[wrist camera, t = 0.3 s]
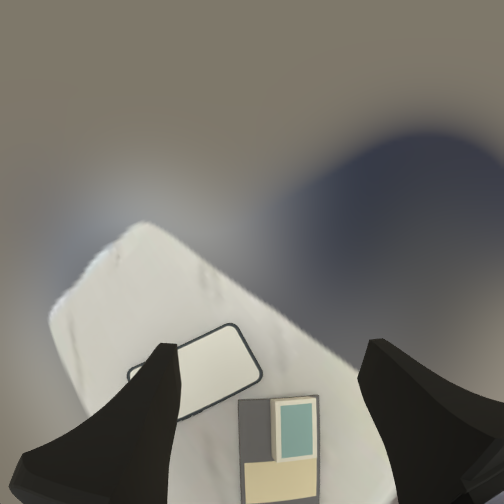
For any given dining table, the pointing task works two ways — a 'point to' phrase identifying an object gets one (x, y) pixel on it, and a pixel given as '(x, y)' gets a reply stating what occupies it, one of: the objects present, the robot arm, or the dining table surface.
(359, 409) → the dining table surface
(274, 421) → the card box
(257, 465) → the mat
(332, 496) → the dining table surface
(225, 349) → the phone case
